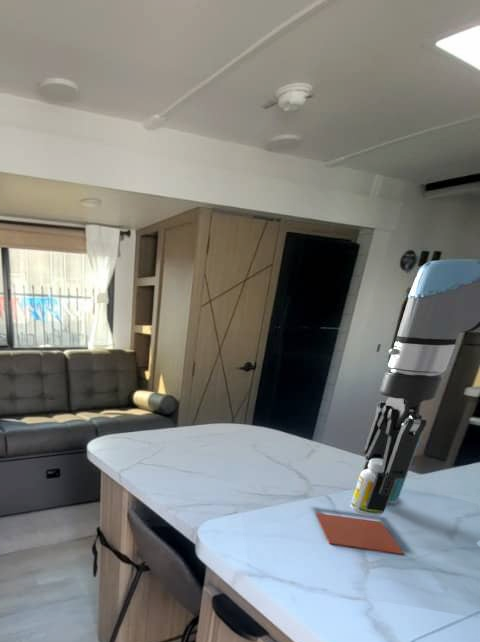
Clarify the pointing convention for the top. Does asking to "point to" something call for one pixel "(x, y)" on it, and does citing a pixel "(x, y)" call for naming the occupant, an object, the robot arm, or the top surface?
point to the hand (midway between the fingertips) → (369, 501)
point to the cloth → (358, 533)
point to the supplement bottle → (366, 488)
